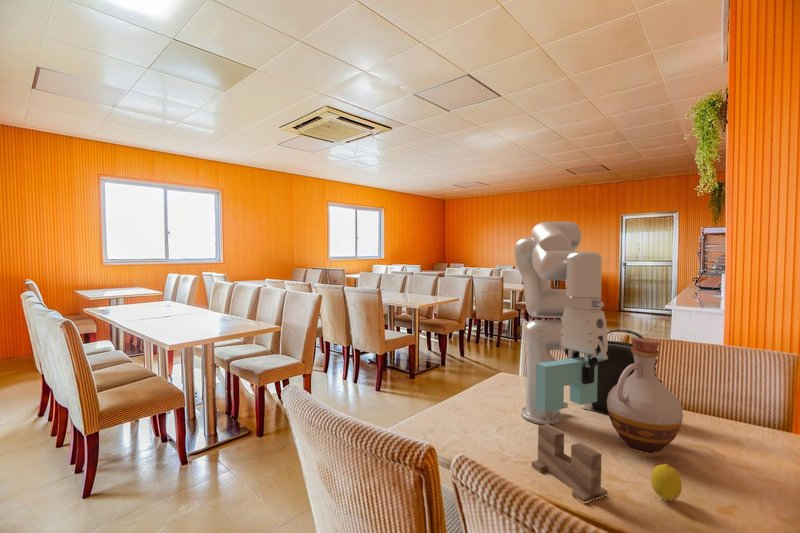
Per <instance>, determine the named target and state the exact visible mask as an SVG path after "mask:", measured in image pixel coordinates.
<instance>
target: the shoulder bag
mask: <svg viewBox="0 0 800 533" xmlns="http://www.w3.org/2000/svg"><path fill="white" fill-rule="evenodd" d="M614 332H615V333H617V332H619V333H621V332H622V333H623V332H624V333H628V334H632V335H634V336H635V337H637V338H645V337H644V336H643V335H641V334H640V333H638V332H635V331H633V330H631V329H620V328H617V329H610V330H609V331H607V335H608V334H611V333H614ZM631 348H633V345H632V343H630V342H624V341H623V342H621V341H614V340H608V349H607V352H606V354H607V356H608V359H607V360H604V361H601V362H600V363H598V376H597V402H592V403H587V404H583V406H582V409H584V410H589V411H591V412H592V411H593V412H597V413H601V414H605V415H609V413H608V409H607V398H608V394H609V392H610V390H611V389H612V388H613V387H614V386H615V385H616V384H618V381H619V378H620V376H621V374H622V372H623V371H624V369H625V368H626V367H627V366H629V365H631V364H635V362H634V356H633V353H632V352H631ZM597 356H598V353H597ZM590 357H591V356H590ZM657 363H658V359H657V358H656V361H655V366H654V374H655V376H656V377H657V367H656V365H657ZM634 370H635V369H633V370H632V371H631V372H630V373H629V375H628V376H630V375H631V374H632V373H634ZM628 376H627V377H628ZM659 380H660V382H661V383H662V384H663V380H661V379H659Z"/></svg>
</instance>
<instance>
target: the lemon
mask: <svg viewBox="0 0 800 533" xmlns="http://www.w3.org/2000/svg"><path fill="white" fill-rule="evenodd" d="M650 483H651V486H652V490H653V491H654V492H655V494H656V495H658V496H659V497H660V498H661V499H663V500H664V499H665V500H668V501H672V500H675V499H678V497H680V495H681V493H682V489H683V487H682V486H683V484H682V478H681V476H680V474H679V473H678V471H677V469H675V468H674V467H672V466H670V465H669V464H667V463H664V464H659V465H656V466H655V467H654V468H653V469H652V472H651V475H650ZM665 500H664V501H665Z"/></svg>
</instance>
